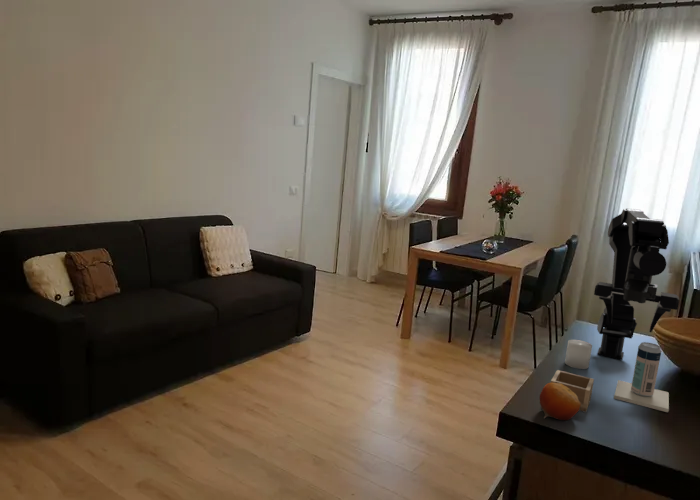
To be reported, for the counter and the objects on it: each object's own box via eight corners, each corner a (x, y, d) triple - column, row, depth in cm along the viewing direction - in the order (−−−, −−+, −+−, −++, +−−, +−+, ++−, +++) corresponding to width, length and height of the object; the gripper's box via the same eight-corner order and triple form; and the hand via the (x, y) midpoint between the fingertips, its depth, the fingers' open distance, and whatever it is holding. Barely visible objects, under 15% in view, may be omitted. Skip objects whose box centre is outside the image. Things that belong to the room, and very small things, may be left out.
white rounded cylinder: (566, 358, 150) (569, 338, 149) (590, 364, 147) (593, 343, 146) (563, 365, 145) (566, 343, 144) (587, 370, 142) (590, 349, 141)
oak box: (554, 389, 128) (557, 369, 127) (590, 399, 124) (594, 379, 123) (547, 401, 121) (551, 380, 120) (586, 412, 117) (589, 390, 116)
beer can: (655, 394, 128) (664, 346, 126) (650, 399, 124) (659, 350, 122) (633, 387, 131) (642, 340, 129) (627, 392, 128) (636, 344, 125)
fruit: (524, 398, 118) (548, 370, 117) (553, 418, 119) (576, 391, 118) (536, 416, 110) (561, 386, 109) (566, 437, 111) (591, 408, 110)
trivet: (617, 383, 135) (618, 380, 135) (668, 395, 130) (668, 392, 130) (613, 398, 126) (614, 395, 125) (668, 412, 120) (668, 409, 120)
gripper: (596, 266, 133) (586, 326, 136) (684, 279, 124) (672, 344, 127) (601, 260, 143) (592, 317, 145) (683, 272, 133) (671, 333, 136)
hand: (630, 327), depth 138 cm, fingers open, 9 cm apart
